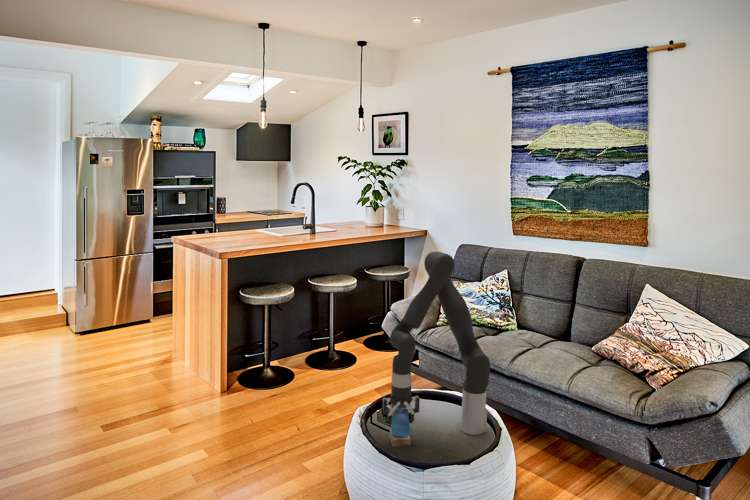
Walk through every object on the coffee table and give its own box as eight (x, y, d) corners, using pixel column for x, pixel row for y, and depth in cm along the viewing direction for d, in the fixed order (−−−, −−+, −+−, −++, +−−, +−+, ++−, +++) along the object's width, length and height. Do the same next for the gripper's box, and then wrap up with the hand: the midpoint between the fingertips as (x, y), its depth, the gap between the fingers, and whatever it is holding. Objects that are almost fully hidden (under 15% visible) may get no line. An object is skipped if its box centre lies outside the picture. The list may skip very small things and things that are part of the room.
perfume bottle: (407, 436, 204) (407, 407, 202) (391, 435, 205) (391, 405, 203) (409, 428, 210) (410, 399, 208) (393, 427, 211) (394, 398, 209)
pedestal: (407, 435, 212) (407, 428, 212) (410, 445, 205) (411, 437, 205) (389, 436, 211) (389, 429, 211) (392, 446, 204) (392, 439, 204)
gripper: (417, 377, 209) (416, 417, 212) (381, 379, 206) (380, 419, 210) (422, 386, 201) (421, 426, 204) (384, 388, 199) (383, 429, 202)
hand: (400, 423), depth 207 cm, fingers closed on perfume bottle, 7 cm apart
